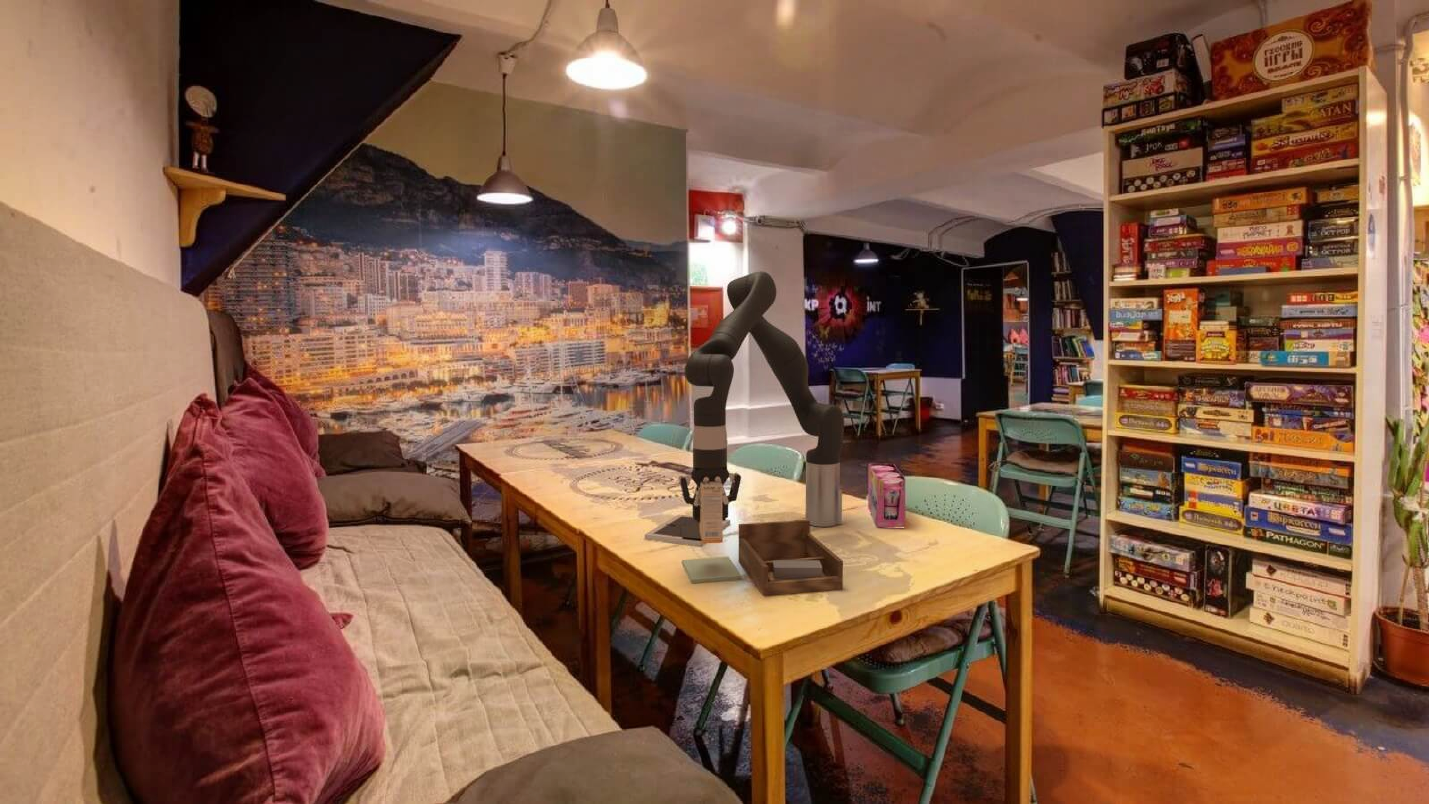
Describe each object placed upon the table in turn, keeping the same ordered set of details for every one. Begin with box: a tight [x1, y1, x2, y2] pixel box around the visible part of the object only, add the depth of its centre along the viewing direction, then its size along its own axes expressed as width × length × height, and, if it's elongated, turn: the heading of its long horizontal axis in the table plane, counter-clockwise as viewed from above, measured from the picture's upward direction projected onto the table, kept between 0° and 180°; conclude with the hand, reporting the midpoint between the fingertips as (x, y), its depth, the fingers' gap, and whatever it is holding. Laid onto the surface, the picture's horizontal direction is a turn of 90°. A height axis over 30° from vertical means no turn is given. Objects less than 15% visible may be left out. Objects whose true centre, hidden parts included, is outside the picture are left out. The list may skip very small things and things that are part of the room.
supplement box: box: [699, 481, 724, 544], centre depth 152 cm, size 8×5×13 cm, turn 5°
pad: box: [681, 556, 743, 584], centre depth 154 cm, size 11×13×1 cm
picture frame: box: [644, 514, 731, 548], centre depth 184 cm, size 16×3×21 cm
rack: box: [738, 519, 844, 597], centre depth 151 cm, size 17×21×9 cm
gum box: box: [867, 463, 906, 527], centre depth 196 cm, size 24×8×14 cm, turn 173°
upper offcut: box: [773, 560, 822, 579], centre depth 145 cm, size 10×5×2 cm, turn 88°
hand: (710, 520), depth 153 cm, fingers closed on supplement box, 5 cm apart
